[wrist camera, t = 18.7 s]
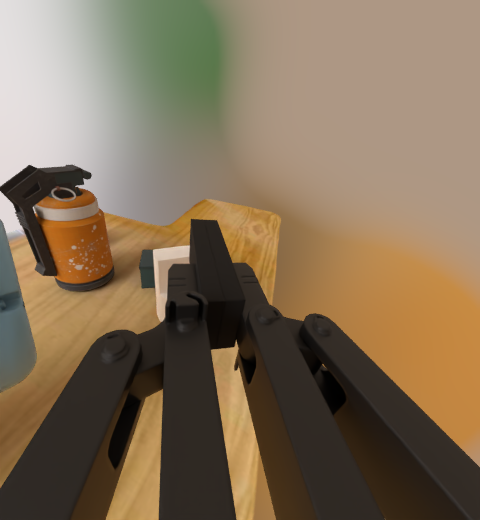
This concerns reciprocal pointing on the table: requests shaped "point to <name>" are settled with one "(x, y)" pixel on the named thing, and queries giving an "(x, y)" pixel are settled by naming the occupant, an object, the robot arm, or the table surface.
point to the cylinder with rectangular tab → (166, 272)
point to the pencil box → (147, 269)
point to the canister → (62, 225)
